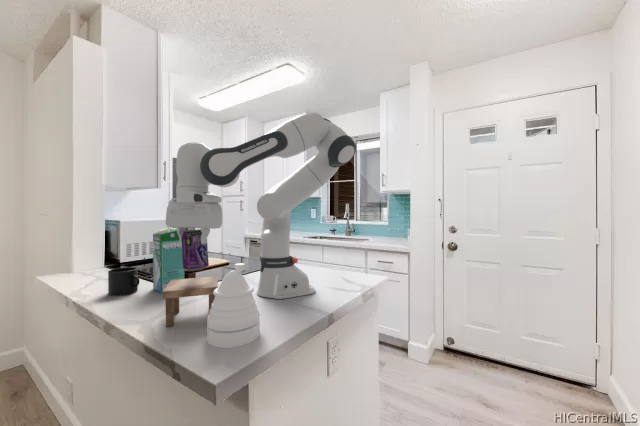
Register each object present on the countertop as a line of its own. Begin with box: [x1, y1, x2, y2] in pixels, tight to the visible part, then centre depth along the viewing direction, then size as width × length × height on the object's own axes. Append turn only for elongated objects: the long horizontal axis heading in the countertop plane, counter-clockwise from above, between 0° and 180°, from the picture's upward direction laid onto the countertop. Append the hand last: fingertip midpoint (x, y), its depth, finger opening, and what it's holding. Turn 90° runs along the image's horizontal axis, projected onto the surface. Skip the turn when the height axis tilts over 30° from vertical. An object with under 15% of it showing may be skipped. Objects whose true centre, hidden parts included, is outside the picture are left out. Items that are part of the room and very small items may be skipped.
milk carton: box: [152, 227, 186, 294], centre depth 115 cm, size 9×9×25 cm
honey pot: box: [206, 262, 261, 349], centre depth 72 cm, size 13×13×18 cm
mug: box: [107, 266, 140, 297], centre depth 110 cm, size 9×12×9 cm
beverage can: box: [181, 228, 209, 272], centre depth 85 cm, size 7×7×12 cm
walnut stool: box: [162, 276, 219, 328], centre depth 85 cm, size 14×14×10 cm
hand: (193, 243), depth 85 cm, fingers closed on beverage can, 7 cm apart
